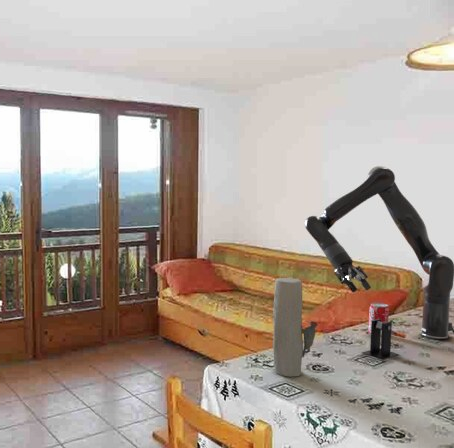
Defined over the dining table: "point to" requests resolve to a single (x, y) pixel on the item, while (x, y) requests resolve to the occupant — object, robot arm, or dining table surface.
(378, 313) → the soda can
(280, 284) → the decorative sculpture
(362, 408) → the dining table surface
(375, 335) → the clamp bracket
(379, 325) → the clamp lever
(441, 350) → the dining table surface
